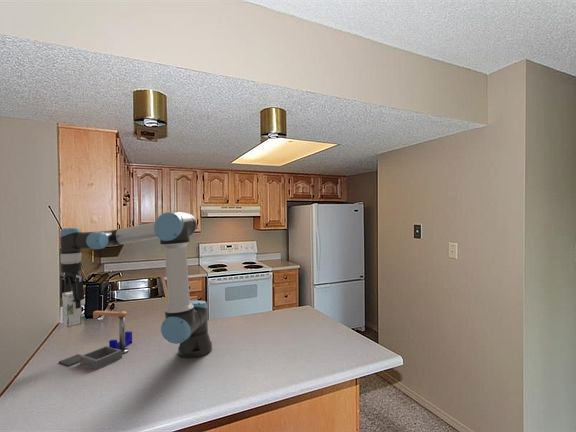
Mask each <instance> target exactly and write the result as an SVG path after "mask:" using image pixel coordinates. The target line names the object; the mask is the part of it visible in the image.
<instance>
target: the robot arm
mask: <svg viewBox="0 0 576 432" xmlns="http://www.w3.org/2000/svg"><path fill="white" fill-rule="evenodd" d="M197 227H198V225H197V220H196V218H195V217H194V216H193V214H191V213H188V212H185V211H182V212H181V211H167V212H163V213H162V214H160V215H158V217H157V218H156V220H155V221H154V222H150V223H144V224H138V225H135V226H129V227H123V228H117V229H112V230H102V231H86V232H85V231H82V230H81V228H80V227H63V228H61V229H60V231H59V232H60V233H59V234H60V235H59V239H60V241H59V242H60V243H59V244H60V263H61V264H60V272H61V273H63V274H64V275H60V276H59V278H60V294H59V295H60V298H62V293H65V292H71V291H72V292H73V296H74V300H73V316H74V317H75V316H78V315H81V302H82V301H83V300H84V299H85V292H84V276H80V273H79V272H81V271H82V262H81V261H82V255H83V254H82V250H101V249H102V250H103V249H104V248H107V247H117V246H120V245H121V246H122V245H125V244H127V245H128V244H131V243H138V242H142V241H149V240H154V239H159V244H160V246H161V247H162V248H164V256H165V257H164V258H165V261H164V262H165V272H166V273H165V274H166V285H167V286H166V289H167V290H166V291H167V302H168V306H167V307H166V308H165V309H164V316H165V319H164V320H163V321H162V323H161V327H160V333H161V336H162V337H163V338H164V339H165V340H166V341H167V342H168V343H170V344H175V345H177V344H179V346H178V348H177V351H178V356H179V357H181V358H187V359H190V358H191V359H192V358H198V357H199V358H200V357H203V356H205V355H208V354H210V352H212V350H213V344H212V340H211V338H210V335H209V328H208V325H209V324H208V321H209V320H208V314H209V313H208V308H209V307H208V304H207V303H208V302H207V301H205V300H191V298H190V297H191V296H190V285H189V272H188V270H189V269H188V253H187V246H188V245H189V243H190V236H192V235H193V234H194V233H195V232H196V229H197Z"/></svg>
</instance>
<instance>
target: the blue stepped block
mask: <svg viewBox="0 0 576 432" xmlns="http://www.w3.org/2000/svg"><path fill="white" fill-rule="evenodd" d="M108 343H109V344H108V345H109V346H108V347H112V348H115V349H120V343H119V341H118V339H110V340H109V341H108ZM131 344H133V331H132V330H131V331H130V330H129V331H128V330H127V331H126V330H125V348H128V346H129V345H131Z"/></svg>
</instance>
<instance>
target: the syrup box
mask: <svg viewBox="0 0 576 432" xmlns="http://www.w3.org/2000/svg"><path fill="white" fill-rule="evenodd" d="M61 300H62V325H63V326H64V327H66V328H71V327H75V326H79V325H82V324H83V318H82V317H83V316H82V314H83V313H82V310H83V309H82V301H81V315H78V316H75V317H74V316H73V300H74V296H73V292H72V290H71V292H65V293H62V299H61Z"/></svg>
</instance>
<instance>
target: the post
mask: <svg viewBox="0 0 576 432" xmlns="http://www.w3.org/2000/svg"><path fill="white" fill-rule="evenodd" d="M125 318H126V316H124V317H118V333H119V337H118V339H119V341H118V342H119V343H120V349H119V350H122V355H124V354H127V353H128V352H129V350H130V349H129V348H128V347H125V332H126V322H125V321H126V319H125Z"/></svg>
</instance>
